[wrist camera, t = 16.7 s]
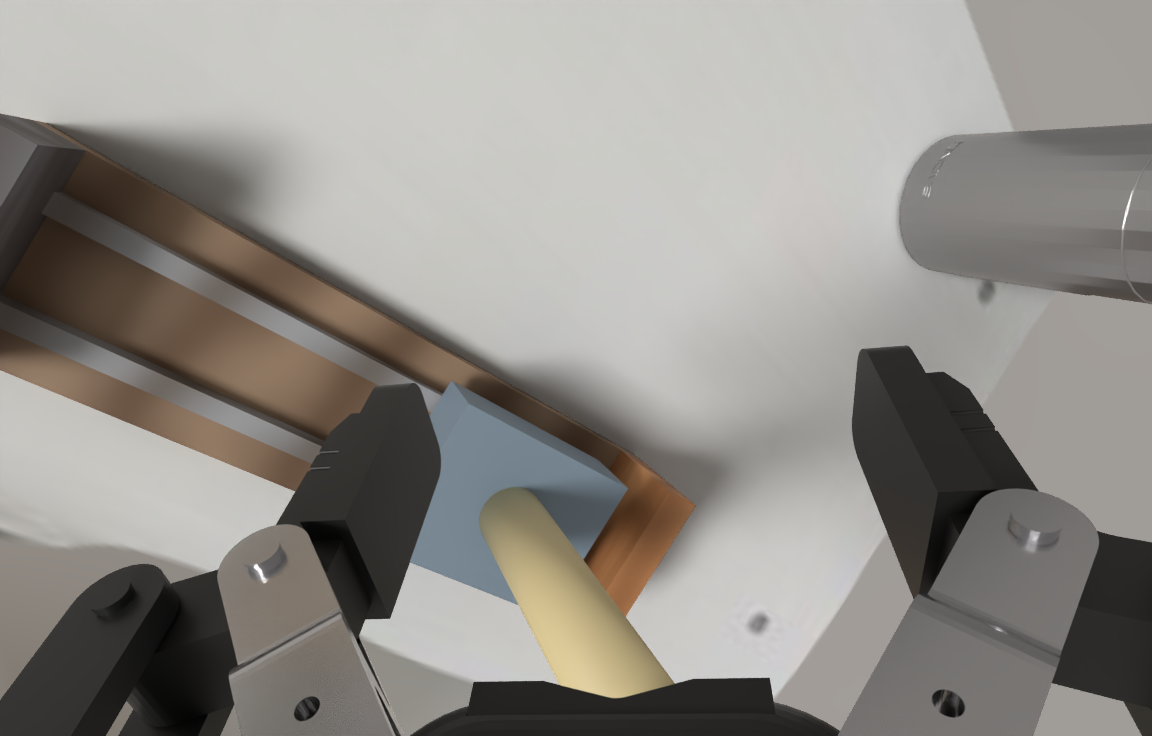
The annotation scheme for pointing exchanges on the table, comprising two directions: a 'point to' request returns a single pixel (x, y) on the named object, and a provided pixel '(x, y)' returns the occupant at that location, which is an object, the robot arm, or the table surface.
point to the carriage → (532, 539)
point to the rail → (236, 337)
